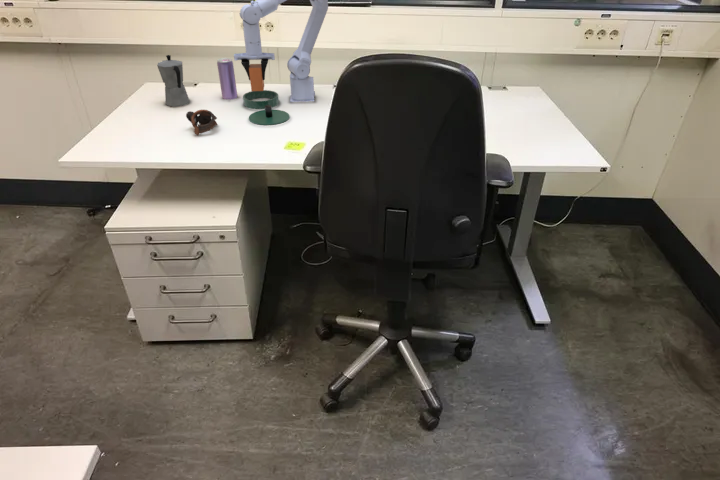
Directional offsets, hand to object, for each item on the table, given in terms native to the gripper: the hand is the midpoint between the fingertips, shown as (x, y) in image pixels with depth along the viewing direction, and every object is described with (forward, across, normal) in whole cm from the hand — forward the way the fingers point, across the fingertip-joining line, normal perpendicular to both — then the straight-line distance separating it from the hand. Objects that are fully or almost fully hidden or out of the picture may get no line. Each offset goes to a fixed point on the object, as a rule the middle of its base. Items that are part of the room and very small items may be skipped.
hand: (256, 79), depth 187 cm
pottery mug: (+10, -17, -24) cm, 32 cm away
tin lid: (+9, +5, -15) cm, 19 cm away
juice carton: (+3, 0, 0) cm, 3 cm away
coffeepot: (+10, -31, +4) cm, 33 cm away
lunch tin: (+10, +1, +1) cm, 10 cm away
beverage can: (+10, -12, +9) cm, 18 cm away
